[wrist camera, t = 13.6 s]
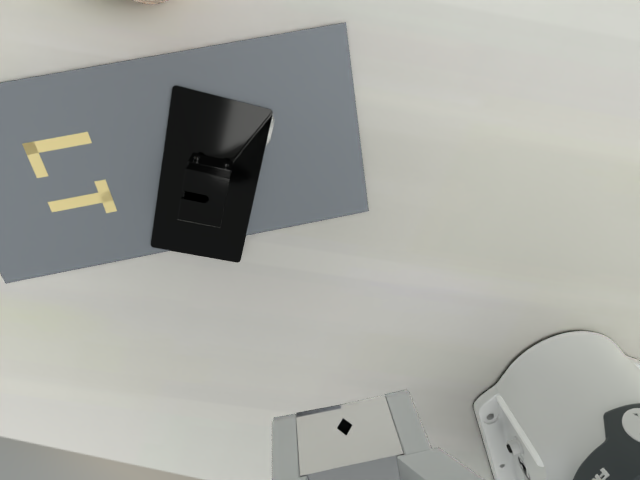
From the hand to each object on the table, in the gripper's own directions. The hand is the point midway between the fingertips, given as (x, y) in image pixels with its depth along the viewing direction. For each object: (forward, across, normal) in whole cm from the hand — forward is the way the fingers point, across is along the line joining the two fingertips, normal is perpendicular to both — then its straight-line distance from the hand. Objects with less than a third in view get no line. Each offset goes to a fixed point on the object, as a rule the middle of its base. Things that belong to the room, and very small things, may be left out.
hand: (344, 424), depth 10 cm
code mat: (+26, +9, -2) cm, 28 cm away
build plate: (+27, +6, 0) cm, 27 cm away
